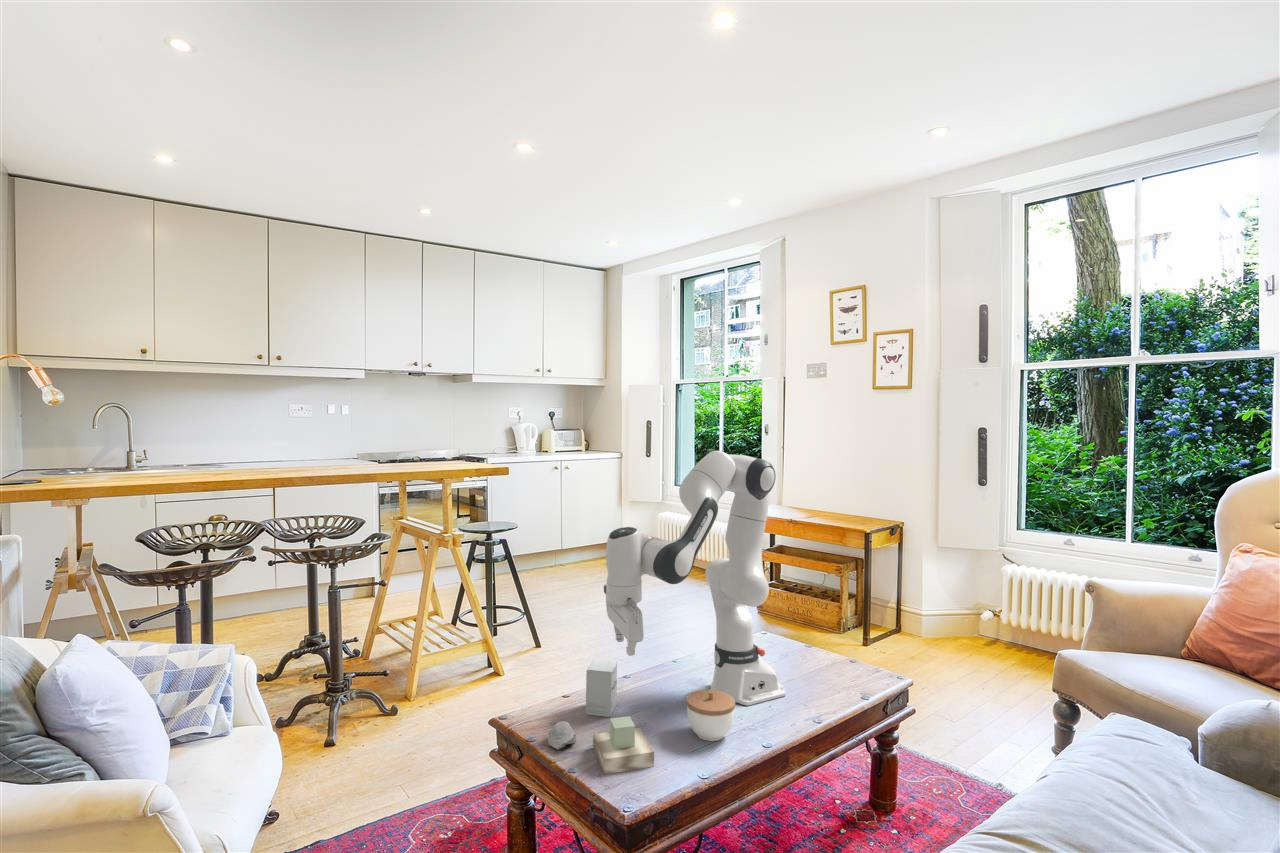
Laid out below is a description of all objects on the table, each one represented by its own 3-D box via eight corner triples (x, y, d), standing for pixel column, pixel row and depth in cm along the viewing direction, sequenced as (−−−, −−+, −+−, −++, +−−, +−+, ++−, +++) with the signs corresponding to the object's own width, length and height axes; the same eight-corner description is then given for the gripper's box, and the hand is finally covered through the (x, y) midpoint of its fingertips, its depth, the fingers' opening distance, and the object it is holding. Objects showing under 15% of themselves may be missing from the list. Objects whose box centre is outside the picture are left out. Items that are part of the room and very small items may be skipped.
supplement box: (611, 717, 176) (611, 672, 175) (585, 714, 177) (585, 669, 177) (617, 705, 183) (617, 661, 183) (592, 702, 184) (592, 659, 184)
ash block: (638, 743, 163) (639, 727, 163) (653, 768, 152) (654, 751, 152) (593, 750, 160) (593, 734, 160) (604, 776, 148) (604, 759, 148)
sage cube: (629, 736, 159) (629, 716, 159) (634, 746, 154) (634, 726, 154) (609, 738, 158) (610, 718, 158) (614, 749, 153) (614, 728, 153)
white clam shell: (584, 742, 163) (584, 723, 162) (562, 756, 156) (562, 736, 156) (560, 732, 168) (560, 713, 168) (537, 744, 161) (537, 725, 161)
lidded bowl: (708, 717, 176) (709, 678, 176) (744, 735, 167) (745, 693, 166) (676, 732, 168) (676, 691, 168) (712, 752, 158) (712, 708, 158)
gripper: (649, 604, 152) (650, 661, 152) (624, 581, 171) (625, 632, 172) (624, 607, 150) (625, 665, 150) (601, 583, 169) (602, 635, 170)
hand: (625, 647), depth 161 cm, fingers open, 8 cm apart
